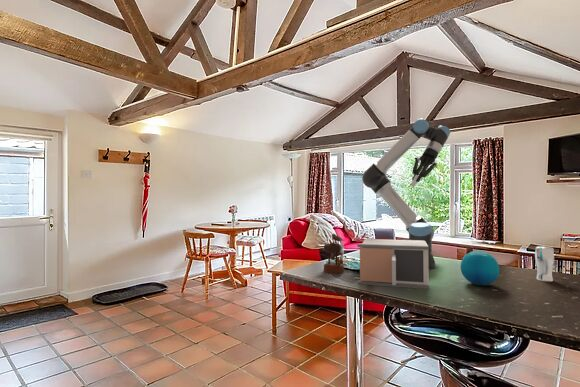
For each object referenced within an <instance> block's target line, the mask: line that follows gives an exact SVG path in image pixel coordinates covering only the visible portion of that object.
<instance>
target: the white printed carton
mask: <svg viewBox="0 0 580 387" xmlns="http://www.w3.org/2000/svg"><path fill="white" fill-rule="evenodd" d="M534 259H535V260H534V261H535V265H536V270H537V271H536V280H537V281H539V282H540V281H541V282H546V283H548V282H549V283H551V282H553V281H554V279H553V274H552V273H553V268H554V263H555V250H554V247H552V246H542V245H541V246H539V245H538V246H535V251H534Z"/></svg>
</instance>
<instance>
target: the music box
mask: <svg viewBox="0 0 580 387" xmlns="http://www.w3.org/2000/svg"><path fill="white" fill-rule="evenodd" d="M331 238H332V240H333V241H332V242H331V241H330V243H325V244H324V246H323V251H324V252H325V253H328V254H327V255H326V254H324V253H318V254H319V255H320V256H323V257H324V258H327V260H328V261H327V262H326V263H324V264H323V272H324V273H326V274H329V275H330V274H333V275H337V274H343V273H344V272H345V267H344V266H345V264H343V260H342V259H341V257H340V256H341V255H342V253H341V249H342V247H341V242H345V239H343V238H342V237H341V236H339V235H337V234H336V233H332V234H331ZM335 241H336V242H337V243H336V242H335ZM339 243H340V244H339ZM339 259H340V260H339ZM331 260H332V261H334V262H331Z"/></svg>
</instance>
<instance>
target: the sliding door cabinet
mask: <svg viewBox="0 0 580 387" xmlns="http://www.w3.org/2000/svg"><path fill="white" fill-rule="evenodd" d="M356 247H357V248H360V247H367V248H392V254H393V255H396V285H392V283H389V282H374V281H360V279H359V280H357V285H368V286H380V287H381V286H382V287H384V286H385V287H395V288H410V289H411V288H414V289H425V290H430V285H429V283H430V281H429V274H430V273H429V270H430V269H428V250H429V247H428V245H427V243H426V242H425V241H422V240H409V239H388V238H387V239H380V238H378V239H377V238H376V239H375V238H364V240H363V241H362V243H357V246H356Z"/></svg>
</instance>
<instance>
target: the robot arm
mask: <svg viewBox="0 0 580 387" xmlns="http://www.w3.org/2000/svg"><path fill="white" fill-rule="evenodd" d="M450 135H451V130H450V128H449V127H447V126H445V125H438V127H434V126H431V125H430V124H429V122H428V121H427V120H426V119H423V118H419V119H416V120H415V122H414V123H413V125H412V126H411V127H410V128H409V129H408V130H407V131H406V133H404V134H403V136H401V137H400V138H399V140H397V142H395V143H394V145H393V146H392V147H390V149H388V150H387V152H386V153H385V154H384V155H382V157H381V158H380V159H379V160H378V161H377V162H373V163H372V164H371V165H370V166H369V167H368V168H367V169H366V170H365V171H364V172H363V174H362V177H361V178H362V179H361V180H362V183H363V185H364V186H366V188H369V189H371V190H372V192H374V194H375V195H379V196H380V197H381V198H382V199H383V200H384V202H385V203H386V204H387V205H388V206H389V207H390V208H391V210H392V211H393V212H394V213H395V214H396V215H397V217H398V218H399V219H400V220H401V221H402V223H403V224H404V225H405V230H406V231H407V233H408V240H422V241H425V242H426V243H427V245H428V247H429V250H428V270H431V269H436V261H435V258H434V255H433V246H432V245H433V243H432V242H433V241H432V239H433V238H434V235H435V231H434V228H433V226H432V225H431V224H430V223H428V222H427V221H426V219H424V218H423V217H422V216H418V215H417V213H415V211H414V210H413V209H412V208H411V207H410V206H409V205H408V204H407V203H406V201H405V200H404V199H403V198H402V197H401V196H400V194H399V193H398V192H397V191H396V190H395V188H394V187H393V186H392V181H391V180H390V179H389V178H388V177H387V172H388V171H389V169H390V168H392V167H393V166H394V165H395V164H396V163H397V162H398V161H399V159H401V158H402V157H403V155H405V153H407V152H408V151H409V150H410V149H411V148H412V147H413V146H414V144H416V143H417V142H418V141H419V140H420V139H421V138H423V139H426V140H428V141H429V142H428V144H427V146H426V148H425V149H424V151H423V153H422V155H421V156H420V157H415V158H414V165H413V168H412V170H411V171H412V175H413V176H412V179H411V180H412V181H411V183H410V184H409V185H410V186H411V188H415V187H416V185H417V184H418V183H419V182H420V181H421V179H422V178H424V179H425V178H426V177H427V176H428V175H429V174H430V173H431V172H432V171H433V170H434V169H435V168H437V167H438V164H437V162H436V159H437V158H438V156H439V154H440V153H441V151H442V149H443V147H444V145H445V144H446V141H447V140H448V138H449V137H450ZM419 162H420V163H419Z"/></svg>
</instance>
